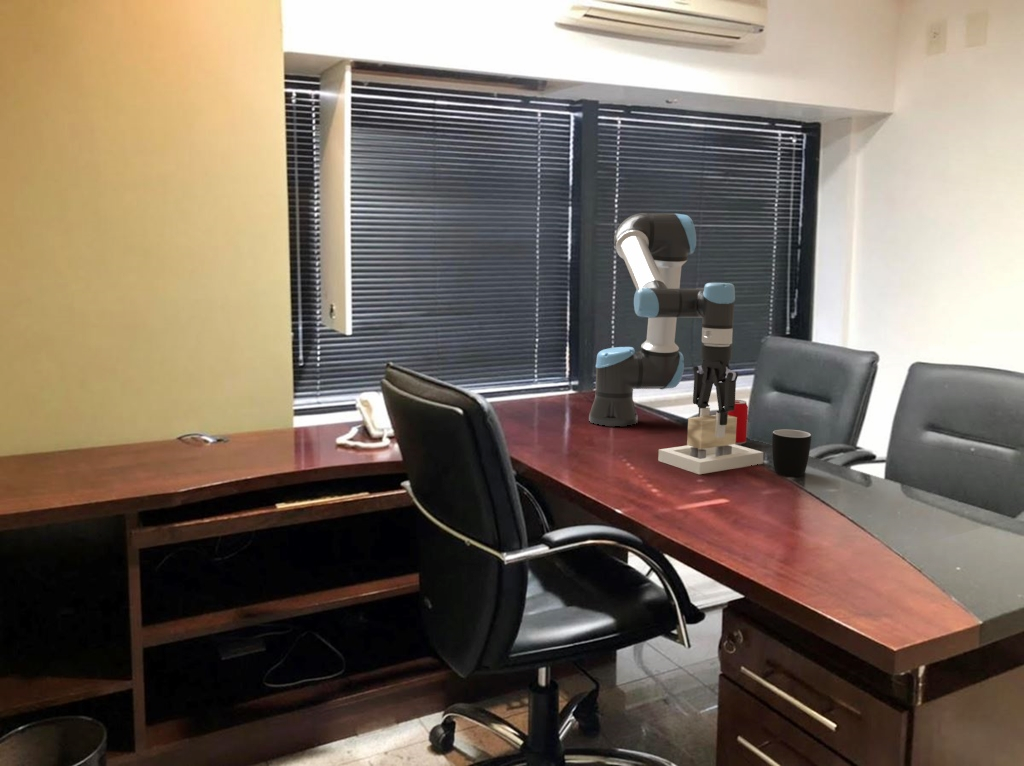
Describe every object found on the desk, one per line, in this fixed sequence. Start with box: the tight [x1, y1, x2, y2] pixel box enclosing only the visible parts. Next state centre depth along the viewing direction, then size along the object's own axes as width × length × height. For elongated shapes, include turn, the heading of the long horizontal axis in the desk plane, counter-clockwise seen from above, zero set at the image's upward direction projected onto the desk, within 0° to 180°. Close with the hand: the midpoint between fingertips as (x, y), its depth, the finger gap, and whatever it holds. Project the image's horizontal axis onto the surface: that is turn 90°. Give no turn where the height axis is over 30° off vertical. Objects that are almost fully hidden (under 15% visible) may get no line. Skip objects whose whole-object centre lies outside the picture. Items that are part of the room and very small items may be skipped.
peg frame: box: [657, 444, 764, 475], centre depth 219 cm, size 15×22×4 cm
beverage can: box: [728, 399, 749, 446], centre depth 240 cm, size 6×6×12 cm
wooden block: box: [686, 414, 737, 449], centre depth 218 cm, size 5×12×7 cm, turn 121°
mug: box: [771, 428, 812, 478], centre depth 210 cm, size 12×9×10 cm
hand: (711, 434), depth 218 cm, fingers closed on wooden block, 5 cm apart
